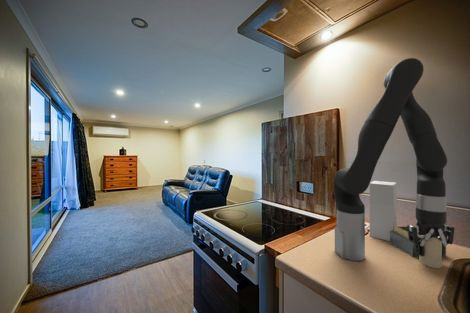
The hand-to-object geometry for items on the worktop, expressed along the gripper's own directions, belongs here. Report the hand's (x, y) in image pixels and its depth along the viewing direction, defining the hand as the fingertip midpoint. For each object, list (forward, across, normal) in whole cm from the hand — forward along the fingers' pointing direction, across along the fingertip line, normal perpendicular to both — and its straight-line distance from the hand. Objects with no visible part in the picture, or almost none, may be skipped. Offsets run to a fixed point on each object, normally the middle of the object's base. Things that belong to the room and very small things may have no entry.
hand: (430, 255), depth 67 cm
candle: (+3, 0, 0) cm, 3 cm away
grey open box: (+3, +4, +10) cm, 11 cm away
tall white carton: (+3, 0, +22) cm, 22 cm away
